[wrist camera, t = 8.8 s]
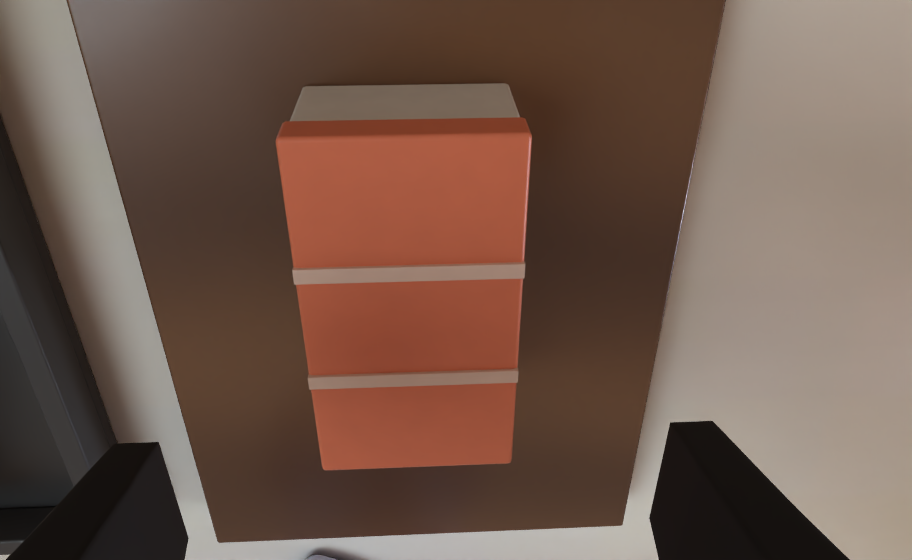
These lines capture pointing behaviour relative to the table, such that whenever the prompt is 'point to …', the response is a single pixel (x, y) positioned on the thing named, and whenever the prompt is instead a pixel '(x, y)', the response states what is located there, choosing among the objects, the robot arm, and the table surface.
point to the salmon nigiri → (408, 268)
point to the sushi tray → (38, 373)
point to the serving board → (270, 260)
